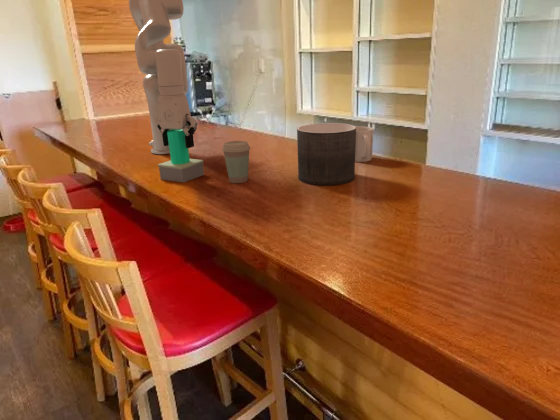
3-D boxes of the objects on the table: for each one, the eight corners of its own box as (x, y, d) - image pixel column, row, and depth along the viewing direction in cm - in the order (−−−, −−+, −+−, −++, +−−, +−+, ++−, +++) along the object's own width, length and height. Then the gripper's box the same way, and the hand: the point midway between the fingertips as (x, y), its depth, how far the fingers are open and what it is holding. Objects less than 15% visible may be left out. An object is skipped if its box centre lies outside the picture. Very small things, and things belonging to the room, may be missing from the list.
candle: (185, 164, 135) (180, 126, 131) (168, 164, 136) (163, 127, 132) (192, 159, 141) (188, 123, 137) (175, 159, 142) (171, 123, 138)
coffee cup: (256, 177, 136) (253, 140, 132) (245, 185, 128) (242, 146, 124) (232, 176, 139) (229, 140, 135) (220, 183, 131) (216, 145, 127)
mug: (376, 156, 156) (378, 126, 153) (368, 164, 146) (370, 132, 142) (349, 155, 161) (349, 125, 157) (339, 162, 151) (340, 131, 147)
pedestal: (159, 179, 138) (157, 164, 137) (181, 171, 147) (180, 157, 145) (183, 182, 133) (181, 167, 132) (204, 174, 142) (203, 160, 140)
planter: (317, 189, 122) (317, 135, 116) (288, 175, 137) (286, 127, 131) (366, 179, 129) (368, 128, 124) (333, 167, 144) (334, 121, 139)
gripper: (143, 92, 132) (151, 146, 138) (184, 93, 123) (191, 150, 129) (160, 90, 138) (167, 142, 144) (201, 90, 129) (207, 146, 135)
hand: (178, 146), depth 136 cm, fingers open, 9 cm apart
